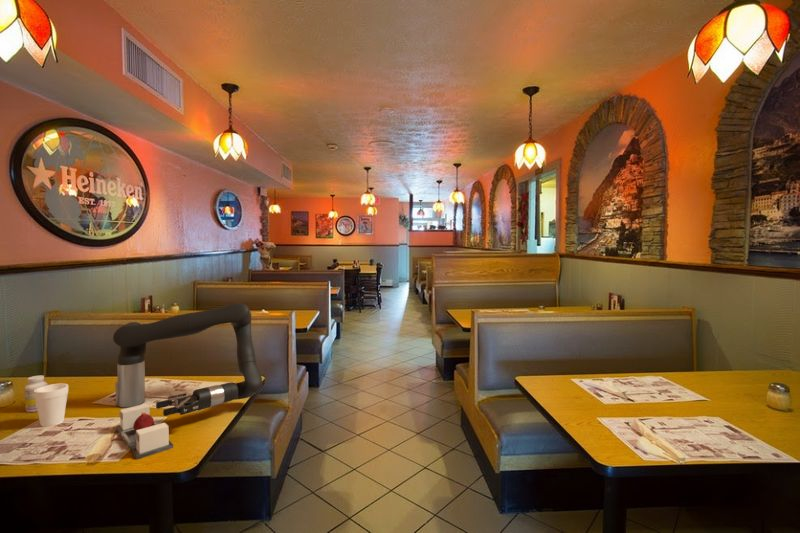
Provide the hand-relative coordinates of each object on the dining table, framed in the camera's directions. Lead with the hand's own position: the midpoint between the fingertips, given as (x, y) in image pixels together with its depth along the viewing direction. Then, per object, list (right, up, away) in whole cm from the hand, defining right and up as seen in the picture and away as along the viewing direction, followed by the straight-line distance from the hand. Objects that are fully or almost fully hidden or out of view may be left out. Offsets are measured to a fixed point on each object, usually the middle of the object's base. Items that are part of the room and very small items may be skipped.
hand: (159, 409), depth 135 cm
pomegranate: (-3, -8, -3) cm, 9 cm away
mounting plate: (-4, -9, -3) cm, 10 cm away
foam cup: (-43, -8, +7) cm, 45 cm away
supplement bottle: (-60, -7, +18) cm, 63 cm away
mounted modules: (-4, -8, -3) cm, 9 cm away
